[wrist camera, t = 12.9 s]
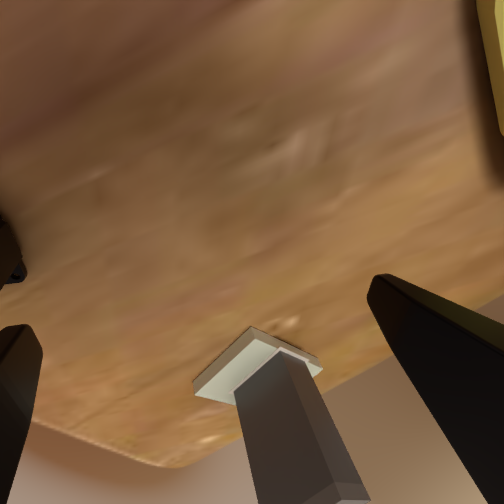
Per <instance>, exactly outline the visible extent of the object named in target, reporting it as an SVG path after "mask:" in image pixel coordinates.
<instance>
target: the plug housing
mask: <svg viewBox="0 0 504 504" xmlns="http://www.w3.org/2000/svg"><path fill="white" fill-rule="evenodd" d="M234 397H235V401H236V406H237V410H238V415H239V419H240V424H241V428H242V432H243V437H244V441H245V445H246V450H247V455H248V459H249V463H250V468H251V473H252V477H253V482H254V486H255V490H256V495H257V499H258V504H366V503H368V502H370V501H371V499H370V497H369V495H368V493H367V491H366V489H365V487H364V485H363V483H362V481H361V478H360V476H359V474H358V472H357V470H356V468H355V466H354V464H353V462H352V460H351V457H350V455H349V453H348V451H347V449H346V447H345V445H344V443H343V441H342V438H341V436H340V434H339V432H338V430H337V428H336V426H335V424H334V422H333V420H332V418H331V416H330V413H329V411H328V409H327V407H326V405H325V403H324V401H323V399H322V397H321V395H320V392H319V390H318V388H317V386H316V384H315V382H314V380H313V378H312V376H311V374H310V371H309V369H308V367H307V365H306V363H305V361H303V360H300V359H298V358H296V357H294V356H291V355H289V354H287V353H285V352H282V351H279V352H278V353H277V354H275V355H274V356H273V357H272V358H271V359H270V360H269V361H268V362H266V363H265V364H264V365H263V366H262V367H261V368H260V369H258V370H257V371H256V372H255V373H254V374H253V375H252V376H251V377H249V378H248V379H247V380H246V381H245V382H244V383H243V384H241V385H240V386H239V387H238V388H237V389H236V390H235V391H234Z"/></svg>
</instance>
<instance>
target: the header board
mask: <svg viewBox="0 0 504 504" xmlns="http://www.w3.org/2000/svg"><path fill="white" fill-rule="evenodd" d="M279 351H282V352H285V353H287V354H289V355H291V356H294V357H296V358H298V359H300V360H303V361H305V363H306V365H307V367H308V369H309V371H310V374H311V376H312V378H313V377H314V376H315V375H316V374H318V373H319V372H320V371H321V370H323V368H322V366H321V364H320V362H319V360H318V358H317V357H314V356H312V355H310V354H308V353H306V352H304V351H302V350H300V349H298V348H295V347H293V346H291V345H289V344H287V343H285V342H283V341H281V340H279V339H277V338H274V337H272V336H270V335H268V334H266V333H264V332H262V331H260V330H258V329H255V328H253V327H250V328H249V329H248V330H247V331H246V332H245V333H244V334H242V335H241V336H240V337H239V338H238V339H237V340H236V341H235V342H234V343H233V344H232V345H231V346H230V347H229V348H228V349H227V350H226V351H225V352H223V353H222V354H221V355H220V356H219V357H218V358H217V359H216V360H215V361H214V362H213V363H212V364H211V365H210V366H209V367H208V368H207V369H206V370H204V371H203V372H202V373H201V374H200V375H199V376H198V377H197V378H196V379H195V380H194V381H193V386H194V395H197V396H201V397H205V398H208V399H212V400H216V401H220V402H224V403H228V404H232V405H236V401H235V397H234V391H235V390H236V389H237V388H238V387H239V386H240V385H241V384H243V383H244V382H245V381H246V380H247V379H248V378H249V377H251V376H252V375H253V374H254V373H255V372H256V371H257V370H258V369H260V368H261V367H262V366H263V365H264V364H265V363H266V362H268V361H269V360H270V359H271V358H272V357H273V356H274V355H275V354H277V353H278V352H279Z"/></svg>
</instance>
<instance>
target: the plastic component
mask: <svg viewBox="0 0 504 504" xmlns="http://www.w3.org/2000/svg"><path fill="white" fill-rule="evenodd" d="M476 7H477V12H478V17H479V23H480V28H481V33H482V38H483V44H484V49H485V54H486V59H487V65H488V70H489V75H490V80H491V86H492V91H493V96H494V101H495V107H496V112H497V117H498V122H499V128H500V132H501V134H502V135H503V136H504V0H476Z"/></svg>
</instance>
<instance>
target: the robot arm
mask: <svg viewBox="0 0 504 504" xmlns="http://www.w3.org/2000/svg"><path fill="white" fill-rule="evenodd" d="M21 259H22V254H21V252H20V249H19V247H18V245H17V243H16V241H15V239H14V237H13V234H12V232H11V230H10V228H9V226H8V224H7V222H5V221H4V220H2V218H1V216H0V290H1V289H2V287H3V286H4V284H12V283H20V282H22V281H24V280H25V278H26V276H27V271H26V269H25V267H24V265H23V263H22V260H21ZM14 273H15V274H19V275H20V276H16V275H14ZM367 302H368V305H369V307H370V309H371V311H372V313H373V315H374V317H375V319H376V321H377V323H378V325H379V327H380V329H381V331H382V333H383V335H384V337H385V339H386V341H387V343H388V344H389V346H390V348H391V350H392V351H393V353H394V355H395V356H396V358H397V360H398V361H399V363H400V364H401V366H402V367H403V369H404V371H405V372H406V374H407V376H408V377H409V378H410V380H411V382H412V383H413V385H414V387H415V388H416V390H417V391H418V393H419V395H420V396H421V398H422V399H423V401H424V402H425V404H426V406H427V407H428V409H429V410H430V412H431V414H432V415H433V417H434V418H435V420H436V422H437V423H438V425H439V426H440V428H441V430H442V431H443V433H444V434H445V436H446V438H447V439H448V441H449V442H450V444H451V446H452V447H453V449H454V450H455V452H456V453H457V455H458V457H459V458H460V460H461V461H462V463H463V465H464V466H465V468H466V469H467V471H468V473H469V474H470V476H471V477H472V479H473V480H474V482H475V484H476V485H477V487H478V489H479V490H480V492H481V493H482V495H483V497H484V498H485V500H486V501H487V503H488V504H504V325H503V324H501V323H499V322H497V321H494V320H492V319H490V318H488V317H485V316H483V315H481V314H479V313H476V312H474V311H472V310H470V309H467V308H465V307H463V306H461V305H458V304H456V303H454V302H452V301H449V300H447V299H445V298H443V297H440V296H438V295H436V294H434V293H431V292H429V291H427V290H425V289H422V288H420V287H418V286H416V285H414V284H411V283H409V282H407V281H405V280H402V279H400V278H398V277H396V276H393V275H391V274H379V275H375V276H374V277H373V279H372V282H371V285H370V288H369V291H368V293H367ZM42 358H43V351H42V347H41V345H40V343H39V341H38V339H37V337H36V335H35V333H34V331H33V330H32V328H31V326H29V325H28V324H21V325H14V326H8V327H5V328H4V329H2V330H1V331H0V504H7V500H8V497H9V494H10V490H11V487H12V484H13V480H14V477H15V474H16V470H17V467H18V464H19V461H20V457H21V454H22V450H23V447H24V444H25V441H26V437H27V434H28V430H29V426H30V423H31V418H32V413H33V408H34V402H35V397H36V391H37V386H38V380H39V375H40V369H41V363H42Z"/></svg>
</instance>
